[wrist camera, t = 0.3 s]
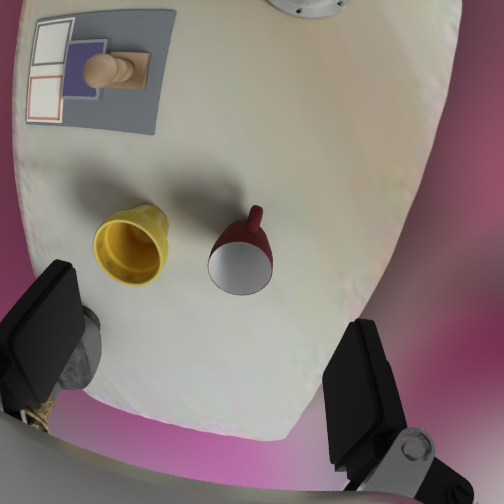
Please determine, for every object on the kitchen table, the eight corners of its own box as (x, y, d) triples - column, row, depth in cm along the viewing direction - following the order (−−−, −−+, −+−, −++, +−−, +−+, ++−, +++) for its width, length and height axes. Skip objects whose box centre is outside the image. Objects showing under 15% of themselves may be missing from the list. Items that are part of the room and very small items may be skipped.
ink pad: (72, 41, 33) (66, 41, 31) (112, 39, 33) (107, 38, 32) (65, 97, 37) (59, 99, 36) (103, 99, 38) (97, 100, 36)
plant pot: (181, 194, 46) (160, 223, 37) (181, 255, 51) (164, 292, 42) (117, 189, 46) (87, 216, 37) (123, 248, 51) (98, 281, 42)
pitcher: (72, 337, 64) (17, 440, 38) (56, 271, 55) (-28, 384, 29) (112, 349, 65) (63, 463, 39) (102, 283, 55) (24, 414, 29)
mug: (225, 187, 45) (214, 216, 36) (281, 198, 45) (284, 229, 36) (215, 250, 50) (204, 289, 41) (266, 260, 50) (265, 300, 42)
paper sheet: (38, 22, 30) (37, 22, 30) (75, 17, 31) (74, 17, 31) (27, 121, 39) (26, 121, 39) (61, 122, 39) (60, 123, 39)
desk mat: (39, 20, 31) (37, 20, 30) (176, 11, 32) (175, 11, 31) (28, 123, 40) (26, 124, 39) (154, 134, 41) (152, 135, 41)
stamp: (119, 52, 34) (75, 50, 25) (151, 54, 35) (114, 49, 25) (113, 86, 37) (70, 93, 27) (145, 88, 37) (107, 94, 28)
